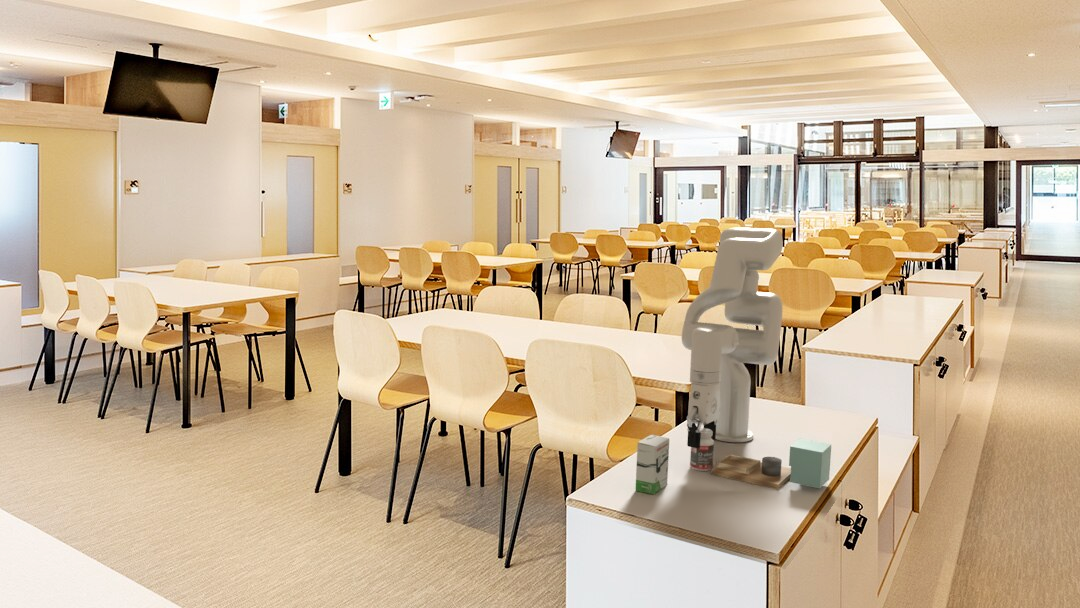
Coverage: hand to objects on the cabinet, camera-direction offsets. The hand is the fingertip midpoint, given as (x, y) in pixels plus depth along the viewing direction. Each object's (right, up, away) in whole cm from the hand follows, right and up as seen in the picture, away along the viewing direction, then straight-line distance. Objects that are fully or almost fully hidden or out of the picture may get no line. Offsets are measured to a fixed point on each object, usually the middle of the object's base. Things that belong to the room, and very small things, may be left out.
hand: (701, 442), depth 211 cm
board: (+13, -8, -2) cm, 15 cm away
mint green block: (+24, -7, -10) cm, 27 cm away
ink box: (-14, -9, -12) cm, 21 cm away
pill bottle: (0, -7, +2) cm, 7 cm away
